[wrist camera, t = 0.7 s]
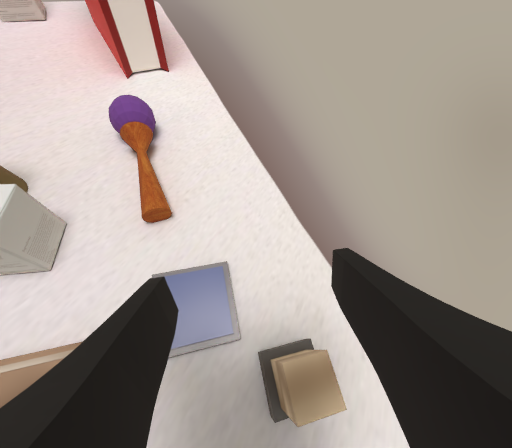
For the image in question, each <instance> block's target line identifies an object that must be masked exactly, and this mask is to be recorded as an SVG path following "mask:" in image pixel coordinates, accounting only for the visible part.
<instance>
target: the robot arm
mask: <svg viewBox="0 0 512 448" xmlns="http://www.w3.org/2000/svg"><path fill="white" fill-rule="evenodd" d="M331 286H332V289H333V291H334V294H335V296H336V299H337V301H338V303H339V306H340V308H341V310H342V312H343V313H344V315H345V317H346V319H347V321H348V322H349V324H350V326H351V328H352V329H353V331H354V333H355V335H356V336H357V338H358V340H359V342H360V344H361V345H362V347H363V349H364V351H365V352H366V354H367V356H368V358H369V359H370V361H371V363H372V365H373V367H374V369H375V371H376V373H377V375H378V377H379V379H380V381H381V383H382V385H383V388H384V390H385V392H386V394H387V396H388V399H389V401H390V403H391V405H392V407H393V410H394V412H395V414H396V416H397V419H398V421H399V423H400V426H401V428H402V430H403V432H404V435H405V437H406V439H407V442H408V444H409V446H410V448H512V332H511V331H509V330H506V329H504V328H501V327H499V326H496V325H493V324H491V323H489V322H486V321H484V320H482V319H479V318H477V317H475V316H473V315H470V314H468V313H466V312H464V311H462V310H459V309H457V308H455V307H453V306H451V305H448V304H446V303H444V302H442V301H440V300H438V299H436V298H434V297H432V296H430V295H428V294H426V293H424V292H423V291H420V290H419V289H417V288H415V287H413V286H411V285H409V284H407V283H405V282H404V281H402V280H400V279H399V278H397V277H395V276H393V275H392V274H390V273H388V272H387V271H385V270H383V269H381V268H380V267H378V266H376V265H375V264H373V263H372V262H370V261H368V260H367V259H365V258H364V257H362V256H360V255H359V254H357V253H355V252H354V251H352V250H350V249H348V248H343V249H336V250H333V262H332V285H331ZM178 312H179V310H178V307H177V305H176V303H175V300H174V298H173V296H172V293H171V291H170V289H169V286H168V284H167V282H166V279H165V277H164V276H163V277H156V278H150V279H149V280H148V281H146V282H145V283H144V284H143V285H142V286H141V287H140V288H139V289H138V290H137V291H136V292H135V293H134V294H133V295H132V296H131V297H130V298H129V299H128V300H127V301H126V302H125V303H124V304H123V305H122V306H121V307H120V308H118V309H117V310H116V311H115V312H114V313H113V314H112V315H111V316H110V317H109V318H108V319H107V320H106V321H105V322H104V323H103V324H102V325H101V326H100V327H99V328H97V329H96V330H95V331H94V332H93V333H92V334H91V335H90V336H89V337H88V338H86V339H85V340H84V341H83V342H82V343H81V344H80V345H79V346H78V347H77V348H75V349H74V350H73V351H72V352H71V353H70V354H68V355H67V356H66V357H65V358H64V359H63V360H61V361H60V362H59V363H58V364H57V365H55V366H54V367H53V368H52V369H50V370H49V371H48V372H47V373H45V374H44V375H43V376H42V377H41V378H39V379H38V380H37V381H36V382H34V383H33V384H32V385H30V386H29V387H28V388H27V389H25V390H24V391H23V392H21V393H20V394H18V395H17V396H16V397H14V398H13V399H12V400H10V401H9V402H8V403H6V404H5V405H4V406H2V407H1V408H0V448H146V446H147V441H148V436H149V431H150V426H151V421H152V416H153V411H154V407H155V403H156V399H157V395H158V391H159V388H160V385H161V381H162V378H163V374H164V371H165V367H166V364H167V361H168V357H169V354H170V350H171V347H172V343H173V339H174V336H175V331H176V325H177V319H178Z"/></svg>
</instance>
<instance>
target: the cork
mask: <svg viewBox="0 0 512 448" xmlns="http://www.w3.org/2000/svg"><path fill="white" fill-rule="evenodd" d="M0 184H16V185H17V186H19V187H20V188H21V189H23V190H24V191H25V192H26V193H27V191H28V186H27V183H26V182H25V181H24V180H23V179H21V178H19V177H18V176H16V175H15V174H13V173H11V172H10V171H8V170H6V169H5V168H3V167H2V166H0Z"/></svg>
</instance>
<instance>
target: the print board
mask: <svg viewBox="0 0 512 448" xmlns="http://www.w3.org/2000/svg"><path fill="white" fill-rule="evenodd" d="M81 343H82V342H79V343H75V344H70V345H66V346H62V347H57V348H53V349H48V350H44V351H39V352H35V353H30V354H26V355H22V356H17V357H13V358H8V359H4V360H0V408H1V407H2V406H4V405H5V404H6V403H8V402H9V401H10V400H12V399H13V398H14V397H16V396H17V395H18V394H20V393H21V392H23V391H24V390H25V389H27V388H28V387H29V386H30V385H32V384H33V383H34V382H36V381H37V380H38V379H39V378H41V377H42V376H43V375H44V374H45V373H47V372H48V371H49V370H50V369H52V368H53V367H54V366H55V365H57V364H58V363H59V362H60V361H61V360H63V359H64V358H65V357H66V356H67V355H68V354H70V353H71V352H72V351H73V350H74V349H75V348H77V347H78V346H79V345H80V344H81Z"/></svg>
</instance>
